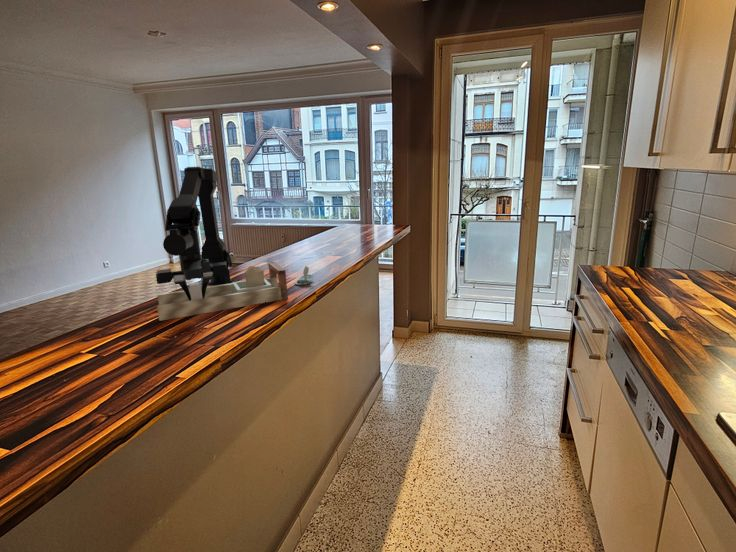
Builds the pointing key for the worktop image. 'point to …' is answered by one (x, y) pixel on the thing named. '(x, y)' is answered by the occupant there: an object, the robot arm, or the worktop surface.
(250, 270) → the candle
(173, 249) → the robot arm
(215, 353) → the worktop surface
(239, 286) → the square frame with handle
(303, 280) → the pacifier
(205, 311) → the channel
